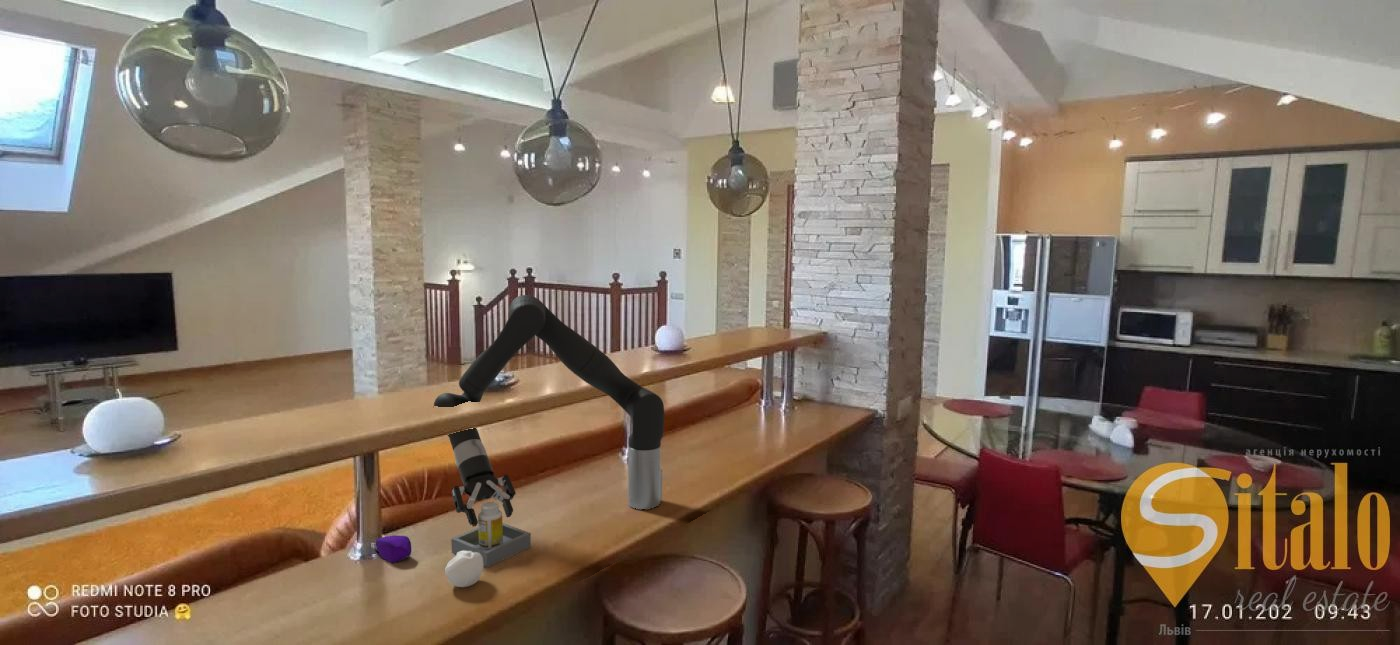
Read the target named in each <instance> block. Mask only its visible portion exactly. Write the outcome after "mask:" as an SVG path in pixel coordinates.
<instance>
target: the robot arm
mask: <svg viewBox="0 0 1400 645" xmlns="http://www.w3.org/2000/svg"><path fill="white" fill-rule="evenodd" d="M507 318H508V319H507V320H506V322H505V324H504V326H503V328H502V330H501V331H500V333H499V335H498V336H497V337H496V338H495V340H494V341H493V342H492V343H491V344H490V345H489V346H488V347H487V348H485V350H484V351H482V352H481V353H480V354H479V355H478V356H477V357H476V358H475V360H474V361H473V362H472V363H471V364H470V366H469V367H468V368H467V369H466V371H465V372H464V373H463V374H462V376H461V377H460V379H459V381H458V386H459V388H460V389H461V390H462V392H463V393H462V394H456V393H450V392H443V393H441V394H439V395H438V396H437V397H436V398H435V400H434V403H433V407H434V406H438V407H454V406H457V405H459V404H462V403H465V402H468V401H471V402H480V403H481V400H482V399H483V396H484V394H485V392H486V390H487V389H488V388H489V387H490V386H491V384H492V383H493V382H494V380H495V379H496V378H497V377H498V375H499V374H500V373H501V371H502V370H503V369H505V367H506V366H507V364H508V363H509V362H510V360H512V359H513V357H514V356H515V355H516V354H517V353H518V352H519V351H520V350H522V348H524V346H525V345H527V343H529V342H530V341H531V340H532V339H533V338H534V337H537V338H538V339H540V340H541V341H542V342H543V343H544V344H546V346H548V347H549V348H550V350H552V352H553V353H554V355H555V356H556V357H557V358H558V359H559V360H560V361H561V364H563V365H564V366H565V367H566V368H567V369H568V370H569V371H570V372H571V373H573V374H574V375H576V376H577V377H578V378H580V379H581V380H582V381H584V382H585V383H586V384H588V385H590V386H591V387H593V388H595V389H596V390H598V391H600V392H602V393H604V394H606V396H608V397H609V398H611V399H612V400H613V401H614V402H616V404H618V405H619V406H620V407H621V408H622V409H623V411H625V412H626V413H627V415H628V416H629V417H630V418H632V433H631V434H630V435H629V436H628V442H627V443H628V444H627V445H628V446H627V447H628V450H627V451H628V456H627V457H628V463H627V464H628V469H627V470H628V472H627V474H628V477H627V479H628V483H627V484H628V487H627V488H628V491H627V492H628V494H627V495H628V496H627V498H628V499H627V503H628V506H629V507H630V508H631V509H635V508H636V510H642V509H645V510H650V509H649V508H652V509H655V508H654V507H656V506H658V505H659V504H661V502H662V501H663V469H662V468H661V465H662V464H661V463H662V460H661V459H662V458H661V457H662V456H661V454H662V453H661V452H662V451H661V450H662V447H661V445H662V443H661V442H662V440H663V436H664V424H665V406H664V401H663V398H661V396H659V394H656V393H655V392H653V391H651V390H649V389H647V388H645V387H643V386H642V385H640V384H638V383H637V382H635V381H634V380H632V379H630V378H629V377H628V376H626V375H625V374H624V373H623V372H622V371H621V370H620V369H619V368H618V366H617V365H616V364H615V363H614V362H613V361H612V359H611V358H609V357H608V356H607V355H606V354H605V353H604V352H603V351H601V350H600V349H599V347H597V346H595V345H594V344H593V343H591V342H590V341H588V340H587V339H586V338H585V337H583V336H582V335H581V334H579V333H578V332H577V331H575V330H574V329H572V328H571V327H570V326H568V325H567V324H565V323H564V322H563V321H562V320H560V319H559V317H557V315H555V314H554V313H553V312H552V311H551V310H550V309H549V308H548V307H547V306H546V304H544V303H543V302H542V301H541V300H540V299H538V298H537V297H535V296H533V295H530V294H529V295H528V294H522V295H518V296H517V297H515V298H514V299H513V300H512V301H511V303H510V304H509V308H508V316H507ZM447 436H448V438H449V442H450V444H451V448H452V452H453V456H454V460H455V465H456V468H457V470H458V472H459V475H460V479H461V483H462V484H463V485H462V486H459V485H455V486H453V489H452V491H451V495H452V499H453V500H452V501H453V504H454V508H455V512H456V513H458V514H460V513H465V515H466V519H467V521H468V523H469V525H470V526H472V527H477V526H478V516H476V511H475V510H474V508H473V506H474V503H475V501H478V502H480V501H483V500H488V499H491V498H493V499H494V500H496V501H499V502H501V504H502V508H503V510H504V513H505V516H506V518H510V517H511V516H512V515H513V513H514V507H513V504H512V502H511V501H512V500H513V499H514V497H515V495H516V494H517V493H516V490H515V488H514V485H513V484H512V481H511V479H510V476H509V475H508V474H504V475H503V476H501V477H496V476H495V472H494V470H493V467H492V466H493V465H492V464H491V461H490V458H489V456H488V453H487V450H486V448H485V446H484V444H483V442H482V439H481V436H480V433H479V430H478V428H477V427H476V428H473V429H468V430H464V431H460V432H456V433H453V434H449V435H447ZM498 484H499V485H500V487H499V486H498ZM501 487H503V489H504V490H503V489H502V488H501ZM504 491H505V492H504ZM464 493H465V494H466V495H468V496H469V499H468V501H467V503H466V504H464V501H463V496H462V495H463V494H464ZM661 500H662V501H661ZM660 501H661V502H660ZM659 506H660V505H659ZM659 506H658V507H659ZM656 508H657V507H656Z"/></svg>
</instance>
